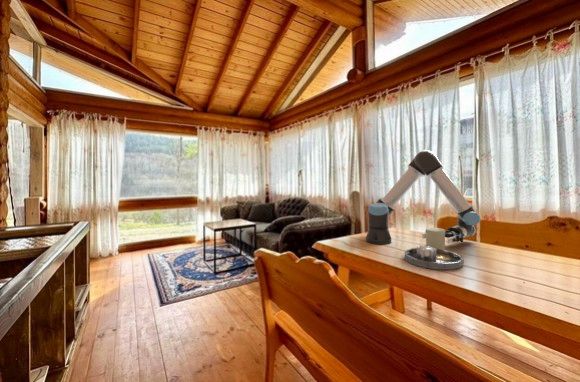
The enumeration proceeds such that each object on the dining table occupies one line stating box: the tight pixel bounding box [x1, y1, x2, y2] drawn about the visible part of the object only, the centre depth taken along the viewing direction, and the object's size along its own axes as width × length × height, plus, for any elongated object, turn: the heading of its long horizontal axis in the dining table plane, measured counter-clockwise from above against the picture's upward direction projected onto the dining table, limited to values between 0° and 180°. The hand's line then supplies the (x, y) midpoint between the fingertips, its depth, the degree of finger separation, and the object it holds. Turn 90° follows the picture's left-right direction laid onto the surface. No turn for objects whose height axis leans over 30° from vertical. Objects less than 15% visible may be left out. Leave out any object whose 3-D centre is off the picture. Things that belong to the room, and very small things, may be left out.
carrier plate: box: [404, 245, 465, 271], centre depth 123 cm, size 24×24×7 cm
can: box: [425, 227, 446, 250], centre depth 139 cm, size 9×9×12 cm
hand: (435, 238), depth 139 cm, fingers open, 13 cm apart
